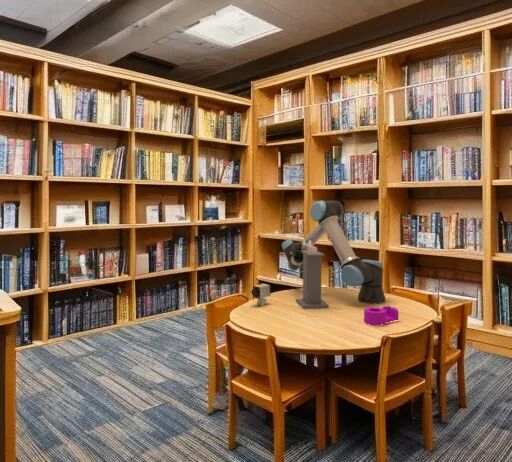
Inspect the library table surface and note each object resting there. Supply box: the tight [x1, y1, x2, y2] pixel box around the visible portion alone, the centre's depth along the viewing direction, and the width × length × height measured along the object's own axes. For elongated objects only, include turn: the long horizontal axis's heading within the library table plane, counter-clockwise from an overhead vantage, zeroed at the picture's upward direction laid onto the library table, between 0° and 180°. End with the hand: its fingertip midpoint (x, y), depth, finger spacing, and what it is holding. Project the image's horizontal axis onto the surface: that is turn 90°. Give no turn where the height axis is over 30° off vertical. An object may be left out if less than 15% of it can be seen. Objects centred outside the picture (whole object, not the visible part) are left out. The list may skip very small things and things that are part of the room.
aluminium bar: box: [301, 243, 318, 253], centre depth 233 cm, size 22×3×3 cm, turn 8°
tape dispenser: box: [363, 305, 399, 326], centre depth 197 cm, size 16×10×6 cm, turn 119°
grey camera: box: [251, 283, 273, 307], centre depth 228 cm, size 6×12×12 cm, turn 135°
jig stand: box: [295, 250, 330, 310], centre depth 227 cm, size 18×14×29 cm
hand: (307, 242), depth 236 cm, fingers closed on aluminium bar, 3 cm apart
